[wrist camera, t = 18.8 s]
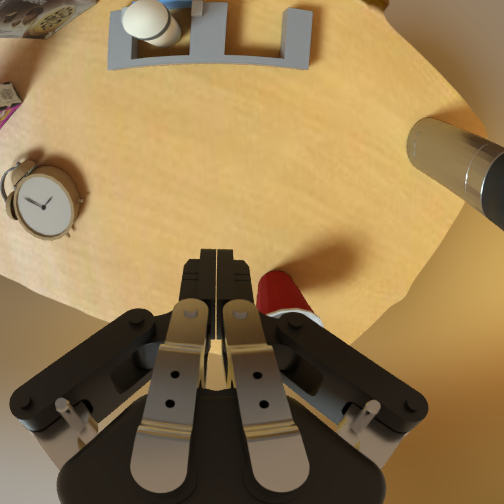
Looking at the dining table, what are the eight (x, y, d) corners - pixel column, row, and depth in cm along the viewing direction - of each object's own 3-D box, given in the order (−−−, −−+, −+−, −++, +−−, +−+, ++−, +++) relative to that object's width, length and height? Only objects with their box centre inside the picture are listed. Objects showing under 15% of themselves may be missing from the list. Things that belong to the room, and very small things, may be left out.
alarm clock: (65, 252, 41) (-11, 218, 33) (71, 234, 44) (0, 202, 36) (86, 194, 36) (1, 155, 28) (93, 179, 40) (15, 143, 32)
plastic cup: (230, 294, 52) (235, 348, 42) (265, 248, 48) (279, 299, 38) (280, 314, 56) (293, 365, 46) (317, 274, 52) (338, 323, 42)
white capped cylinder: (183, 18, 28) (168, -5, 18) (181, 47, 30) (165, 35, 20) (150, 21, 27) (123, 1, 17) (148, 50, 30) (120, 40, 20)
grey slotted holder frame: (306, 11, 29) (315, 5, 25) (301, 69, 33) (310, 69, 30) (118, 11, 26) (108, 6, 22) (115, 70, 30) (104, 70, 27)
